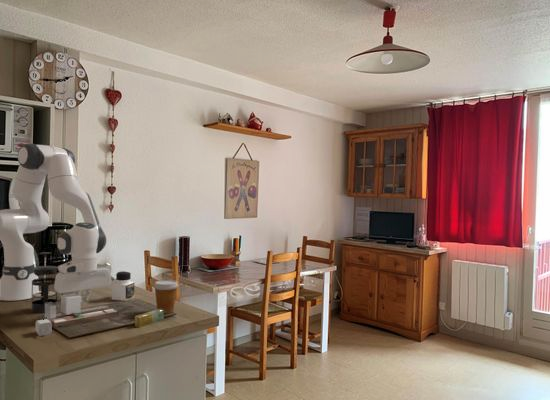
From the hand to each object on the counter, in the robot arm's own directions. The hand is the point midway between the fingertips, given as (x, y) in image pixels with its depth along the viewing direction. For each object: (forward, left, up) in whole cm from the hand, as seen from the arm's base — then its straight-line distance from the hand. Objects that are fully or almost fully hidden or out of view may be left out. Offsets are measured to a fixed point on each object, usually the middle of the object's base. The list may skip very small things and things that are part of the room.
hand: (83, 301), depth 158 cm
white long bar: (0, -2, -4) cm, 5 cm away
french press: (-17, -8, -6) cm, 20 cm away
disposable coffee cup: (+15, +27, -6) cm, 31 cm away
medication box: (+23, +15, -6) cm, 29 cm away
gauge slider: (+2, -5, -3) cm, 6 cm away
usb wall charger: (+12, -17, -6) cm, 22 cm away
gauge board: (+2, -1, -6) cm, 6 cm away
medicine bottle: (-15, +23, -6) cm, 28 cm away
